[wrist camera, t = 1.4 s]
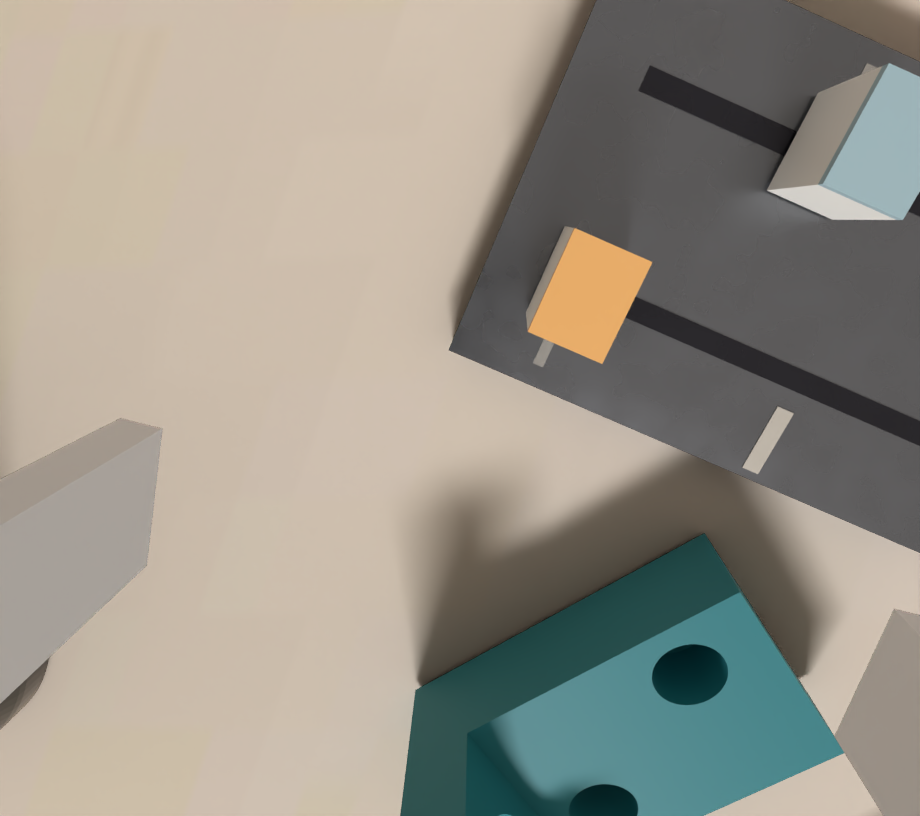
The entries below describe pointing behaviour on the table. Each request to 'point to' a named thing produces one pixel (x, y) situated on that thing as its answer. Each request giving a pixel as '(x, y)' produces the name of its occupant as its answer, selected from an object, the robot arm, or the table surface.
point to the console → (721, 258)
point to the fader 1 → (585, 293)
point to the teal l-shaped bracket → (619, 707)
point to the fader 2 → (857, 149)
